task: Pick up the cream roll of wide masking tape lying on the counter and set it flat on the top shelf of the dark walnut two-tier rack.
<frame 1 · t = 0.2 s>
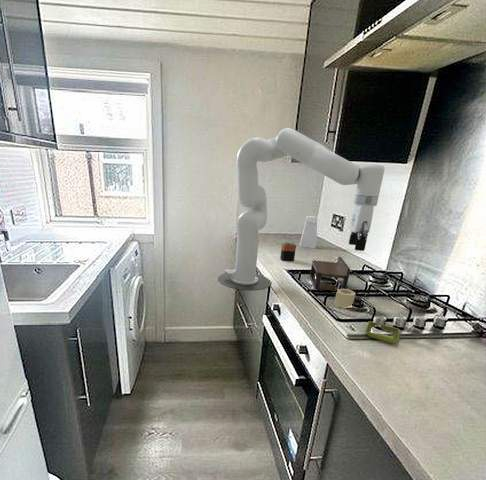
hand: (356, 247, 114), 21 cm above the counter, tool pointing down, fingers open, 9 cm apart
green square frame: (381, 336, 92), on the counter
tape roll: (343, 305, 112), on the counter
battery: (286, 260, 170), on the counter
rack: (326, 284, 133), on the counter
grater: (307, 246, 207), on the counter
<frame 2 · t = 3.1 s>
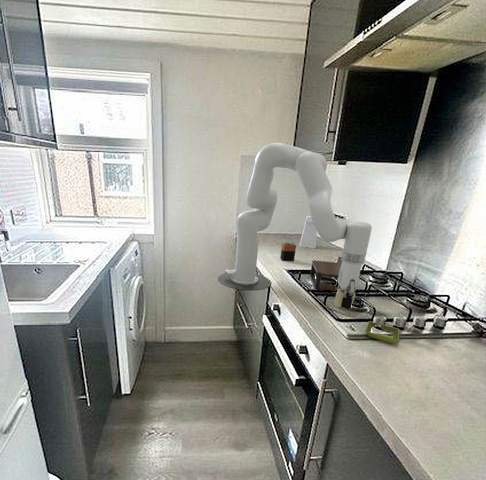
hand: (343, 303, 112), 1 cm above the counter, tool pointing down, fingers closed on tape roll, 6 cm apart
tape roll: (343, 305, 112), on the counter, touching gripper
everything else where it was.
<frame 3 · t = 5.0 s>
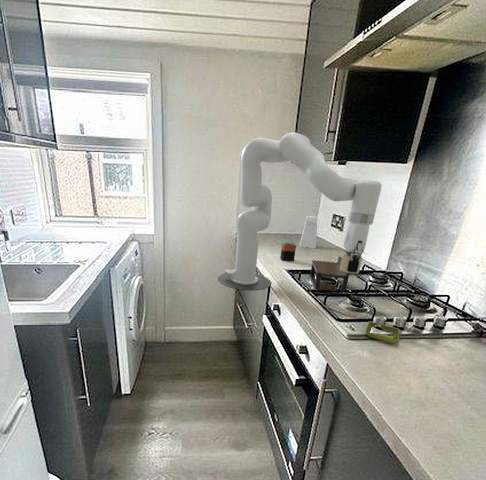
hand: (349, 268, 108), 14 cm above the counter, tool pointing down, fingers closed on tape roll, 6 cm apart
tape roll: (349, 270, 108), point 14 cm above the counter, touching gripper
everything else where it was.
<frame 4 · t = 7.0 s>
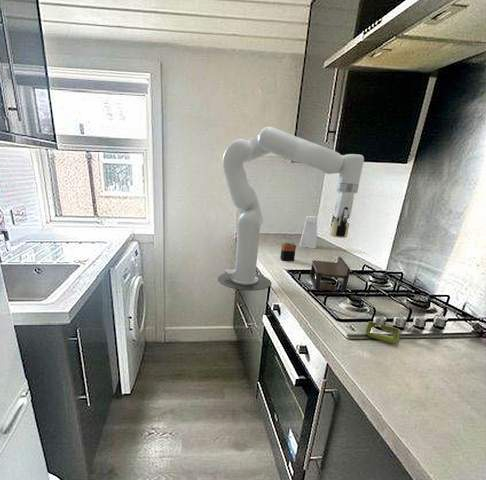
hand: (338, 234, 122), 23 cm above the counter, tool pointing down, fingers closed on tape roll, 6 cm apart
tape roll: (338, 236, 122), point 23 cm above the counter, touching gripper
everything else where it was.
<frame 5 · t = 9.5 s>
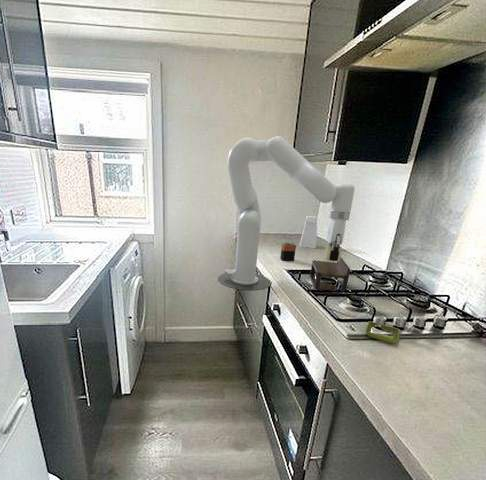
hand: (331, 257, 128), 13 cm above the counter, tool pointing down, fingers closed on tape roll, 6 cm apart
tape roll: (331, 259, 129), point 12 cm above the counter, touching gripper
everything else where it was.
when the fingers open (9 cm above the counter, at t = 11.1 s): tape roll stays where it is, resting on rack.
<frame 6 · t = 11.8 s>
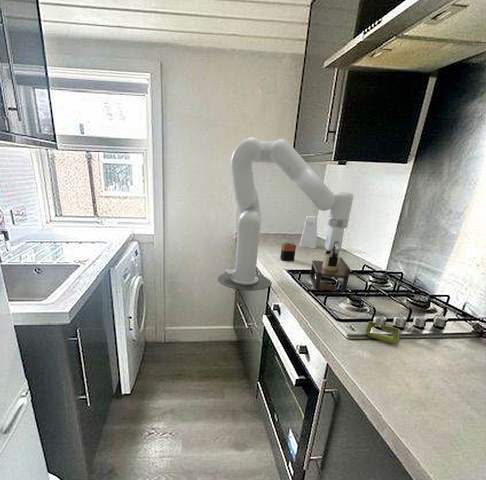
hand: (330, 263, 129), 10 cm above the counter, tool pointing down, fingers open, 9 cm apart
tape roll: (330, 268, 130), point 8 cm above the counter, touching rack
everything else where it was.
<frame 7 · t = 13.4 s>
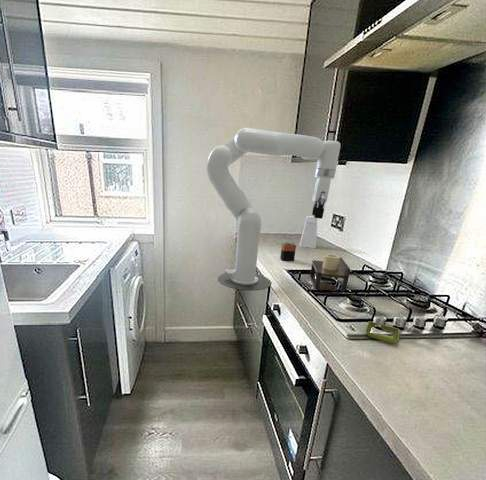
hand: (316, 216, 128), 29 cm above the counter, tool pointing down, fingers open, 9 cm apart
nothing on the counter moved.
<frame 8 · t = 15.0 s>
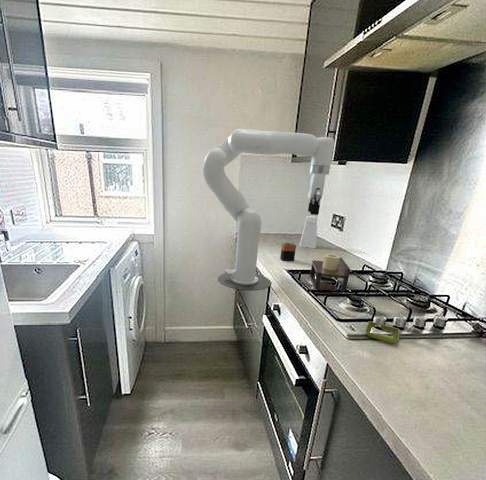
hand: (312, 213, 128), 30 cm above the counter, tool pointing down, fingers open, 9 cm apart
nothing on the counter moved.
at the end: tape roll inside the target area on the rack (1.1 cm from its centre), point 8.0 cm above the rack's base; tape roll tilted 0°; the gripper is holding nothing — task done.
